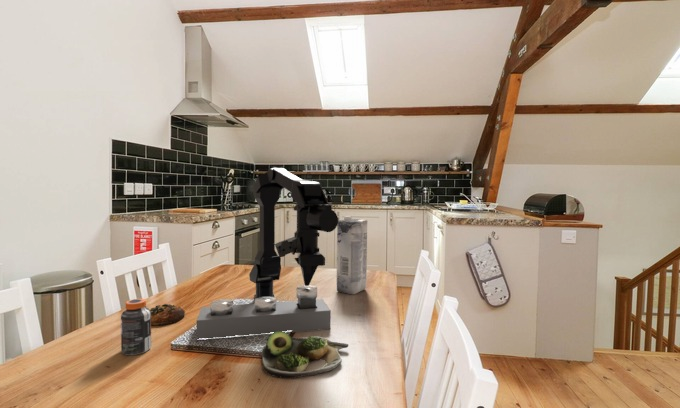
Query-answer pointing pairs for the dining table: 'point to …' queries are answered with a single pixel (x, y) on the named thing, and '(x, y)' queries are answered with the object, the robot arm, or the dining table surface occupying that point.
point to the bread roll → (166, 314)
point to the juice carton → (351, 255)
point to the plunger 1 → (221, 307)
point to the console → (263, 320)
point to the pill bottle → (135, 328)
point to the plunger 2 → (306, 297)
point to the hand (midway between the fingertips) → (306, 285)
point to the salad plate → (298, 355)
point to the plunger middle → (265, 304)
